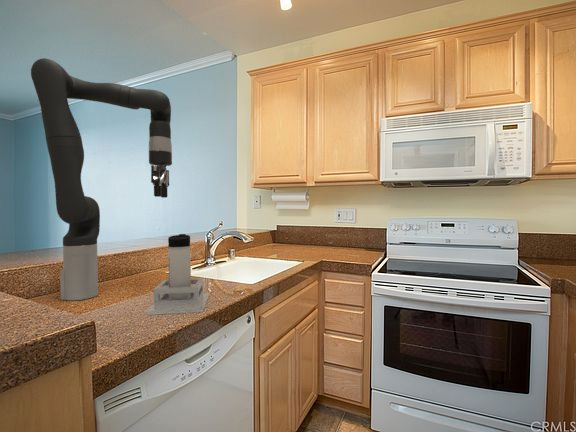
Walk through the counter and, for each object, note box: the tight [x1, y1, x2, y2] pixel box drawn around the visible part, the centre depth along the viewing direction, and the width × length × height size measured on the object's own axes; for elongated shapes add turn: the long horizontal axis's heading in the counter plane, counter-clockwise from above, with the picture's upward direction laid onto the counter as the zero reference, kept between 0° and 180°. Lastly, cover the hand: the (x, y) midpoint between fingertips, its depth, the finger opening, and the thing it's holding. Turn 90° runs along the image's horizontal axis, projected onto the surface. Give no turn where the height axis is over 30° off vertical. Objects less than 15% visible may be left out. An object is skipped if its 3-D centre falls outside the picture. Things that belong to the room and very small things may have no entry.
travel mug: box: [167, 233, 192, 300], centre depth 89 cm, size 6×7×20 cm
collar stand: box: [145, 277, 210, 316], centre depth 88 cm, size 15×15×6 cm
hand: (161, 197), depth 105 cm, fingers open, 8 cm apart
